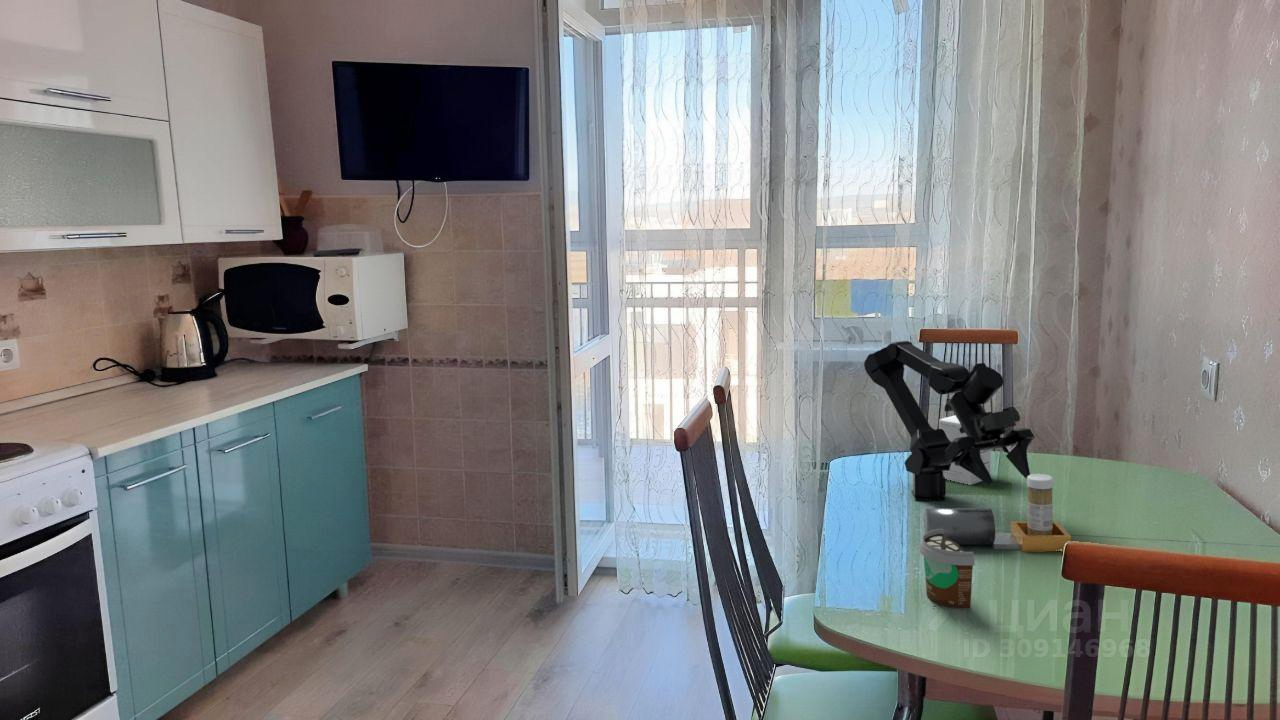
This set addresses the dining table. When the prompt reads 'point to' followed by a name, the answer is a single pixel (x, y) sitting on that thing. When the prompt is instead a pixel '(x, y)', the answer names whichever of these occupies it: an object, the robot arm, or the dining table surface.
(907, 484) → the dining table surface
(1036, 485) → the sprinkles bottle
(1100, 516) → the dining table surface
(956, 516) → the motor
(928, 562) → the food container
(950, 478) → the supplement box
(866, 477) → the dining table surface
